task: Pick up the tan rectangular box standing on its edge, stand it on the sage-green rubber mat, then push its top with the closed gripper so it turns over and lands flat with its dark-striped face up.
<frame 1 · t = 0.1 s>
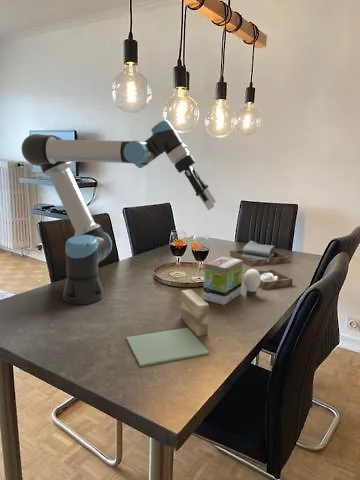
hand: (212, 205, 144), 36 cm above the table, tool tilted 35°, fingers open, 13 cm apart
tea box: (222, 297, 149), on the table
towel: (258, 258, 204), resting in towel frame
light bulb: (251, 295, 151), on the table
rose frame: (267, 281, 168), on the table
tan rectangular box: (193, 325, 123), on the table
mat: (166, 346, 109), on the table
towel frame: (258, 259, 205), on the table
rose: (267, 283, 168), resting in rose frame
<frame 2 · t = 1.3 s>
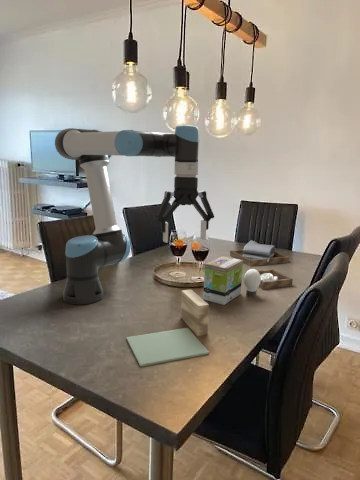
hand: (184, 240, 125), 27 cm above the table, tool pointing down, fingers open, 13 cm apart
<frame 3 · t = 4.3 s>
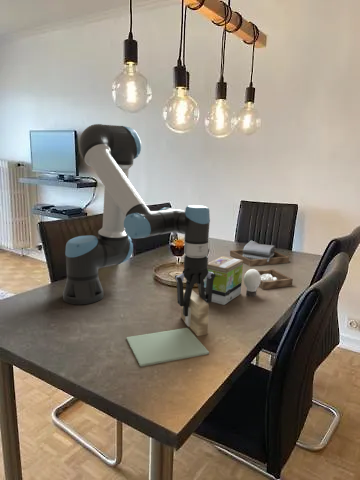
hand: (193, 323, 123), 1 cm above the table, tool pointing down, fingers closed on tan rectangular box, 4 cm apart
tan rectangular box: (193, 325, 123), on the table, touching gripper
rose: (266, 284, 166), resting in rose frame
everything else where it was.
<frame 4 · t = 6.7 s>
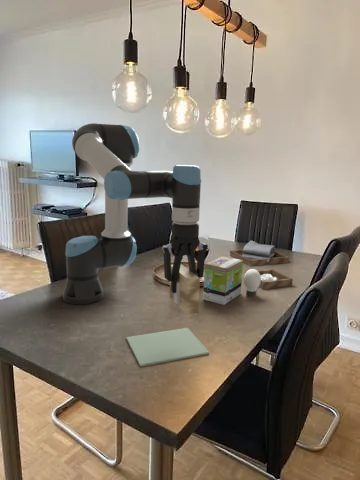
hand: (183, 301, 108), 13 cm above the table, tool pointing down, fingers closed on tan rectangular box, 4 cm apart
tan rectangular box: (183, 304, 108), point 13 cm above the table, touching gripper
everything else where it was.
when the fingers open (2 cm above the table, at t = 9.3 s): tan rectangular box stays where it is, resting on mat.
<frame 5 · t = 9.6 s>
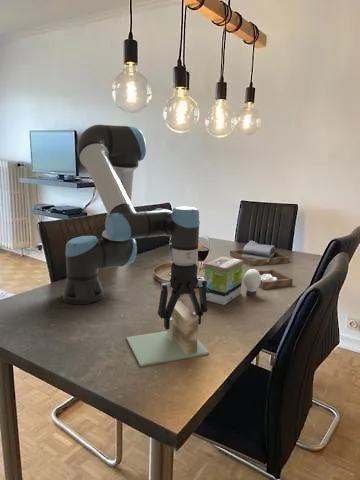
hand: (182, 336, 111), 2 cm above the table, tool pointing down, fingers open, 7 cm apart
tan rectangular box: (182, 341, 111), point 1 cm above the table, touching mat
everything else where it was.
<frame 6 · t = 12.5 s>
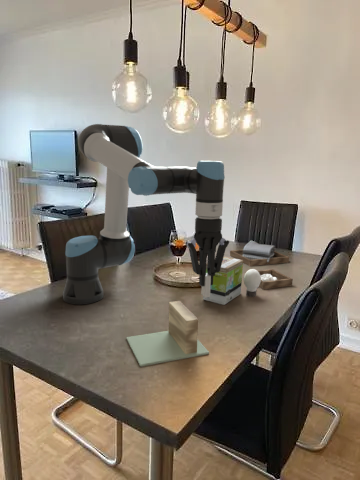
hand: (205, 295, 110), 14 cm above the table, tool pointing down, fingers closed
nothing on the table moved.
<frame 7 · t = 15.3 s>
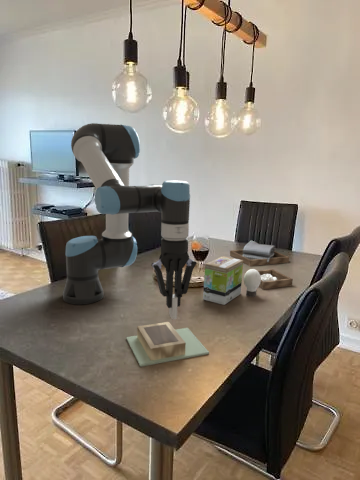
hand: (173, 317, 108), 9 cm above the table, tool pointing down, fingers closed
tan rectangular box: (176, 337, 110), point 2 cm above the table, tilted 90°, touching mat
everything else where it was.
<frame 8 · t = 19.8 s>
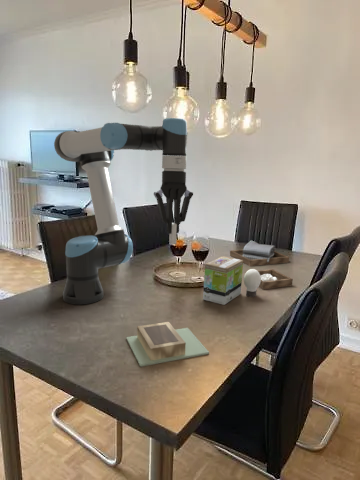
hand: (172, 242, 123), 26 cm above the table, tool pointing down, fingers closed
nothing on the table moved.
at the end: tan rectangular box tilted 90°; tan rectangular box inside the target area (3.1 cm from its centre), point 2.3 cm above the table; the gripper is holding nothing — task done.
